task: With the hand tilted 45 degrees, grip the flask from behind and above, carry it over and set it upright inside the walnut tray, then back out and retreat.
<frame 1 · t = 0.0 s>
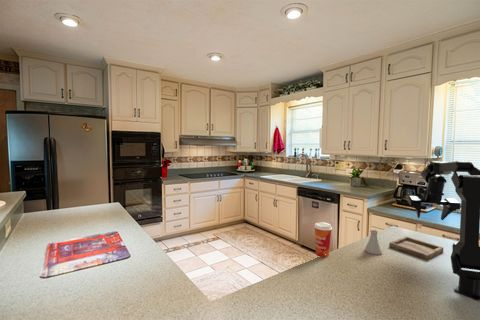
hand: (429, 218, 114), 15 cm above the countertop, tool pointing down, fingers open, 9 cm apart
walnut tray: (415, 249, 117), on the countertop
paper cup: (322, 255, 111), on the countertop
flask: (373, 252, 114), on the countertop
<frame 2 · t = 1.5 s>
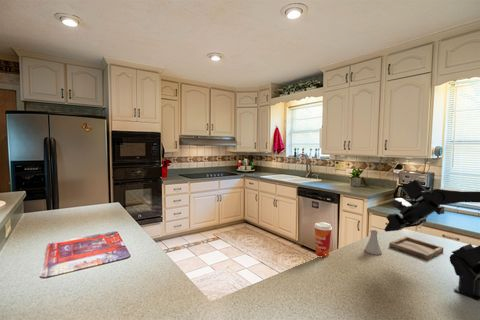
hand: (391, 228, 106), 13 cm above the countertop, tool tilted 45°, fingers open, 9 cm apart
nothing on the countertop moved.
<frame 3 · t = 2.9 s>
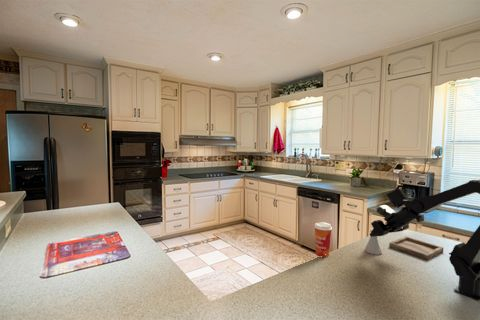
hand: (376, 233, 112), 9 cm above the countertop, tool tilted 45°, fingers open, 9 cm apart
nothing on the countertop moved.
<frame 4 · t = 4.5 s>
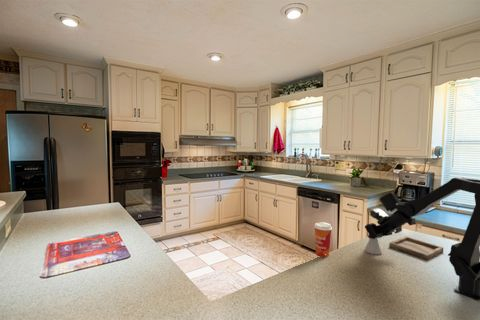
hand: (370, 236, 115), 7 cm above the countertop, tool tilted 45°, fingers closed on flask, 3 cm apart
flask: (373, 252, 114), on the countertop, touching gripper
everything else where it was.
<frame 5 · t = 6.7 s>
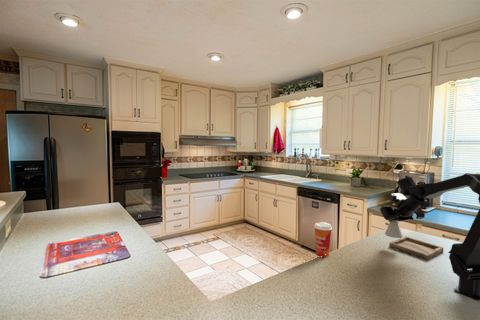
hand: (392, 221, 118), 13 cm above the countertop, tool tilted 45°, fingers closed on flask, 3 cm apart
flask: (393, 236, 117), point 6 cm above the countertop, touching gripper
everything else where it was.
when the fingers open (9 cm above the countertop, at t = 9.1 s): flask drops 1 cm, resting on walnut tray.
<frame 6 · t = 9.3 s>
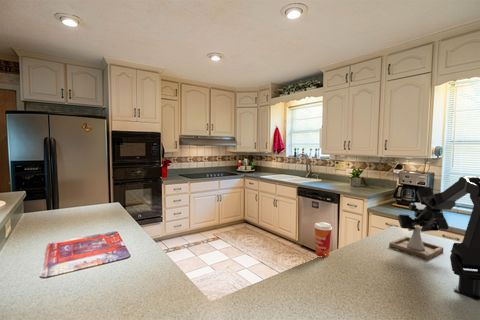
hand: (415, 230, 118), 9 cm above the countertop, tool tilted 45°, fingers open, 5 cm apart
flask: (415, 248, 117), point 1 cm above the countertop, touching walnut tray
everything else where it was.
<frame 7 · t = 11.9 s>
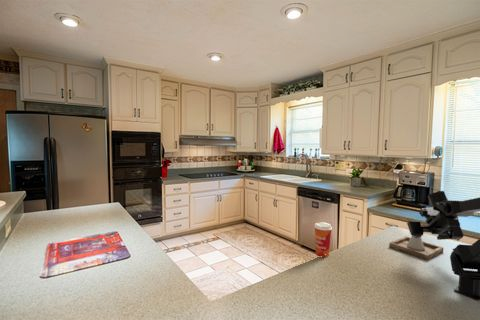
hand: (425, 237, 109), 9 cm above the countertop, tool tilted 45°, fingers open, 9 cm apart
nothing on the countertop moved.
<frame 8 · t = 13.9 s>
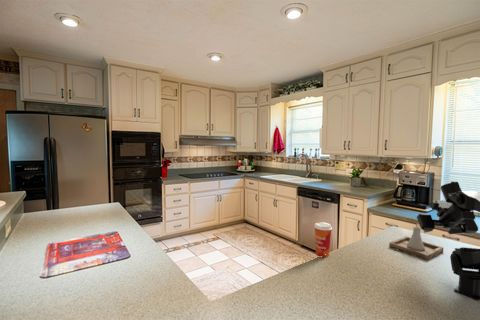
hand: (436, 232, 102), 14 cm above the countertop, tool tilted 45°, fingers open, 9 cm apart
nothing on the countertop moved.
at the end: flask inside the target area on the walnut tray (0.1 cm from its centre), point 0.6 cm above the walnut tray's base; flask tilted 0°; the gripper is holding nothing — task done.
